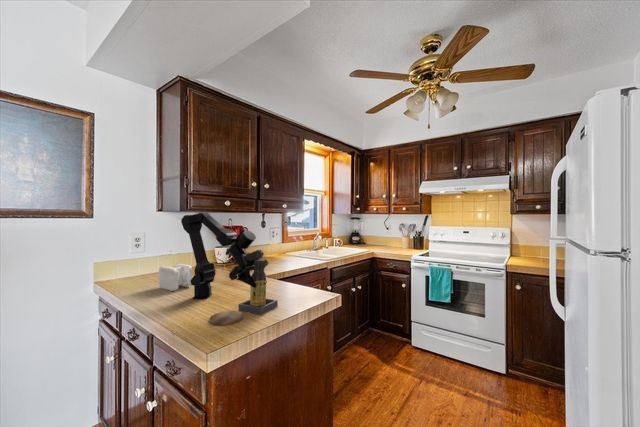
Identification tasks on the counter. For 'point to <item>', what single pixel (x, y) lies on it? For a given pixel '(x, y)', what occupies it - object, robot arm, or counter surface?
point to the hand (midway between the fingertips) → (261, 285)
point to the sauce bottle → (258, 285)
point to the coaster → (226, 317)
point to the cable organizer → (175, 276)
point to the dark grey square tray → (256, 310)
